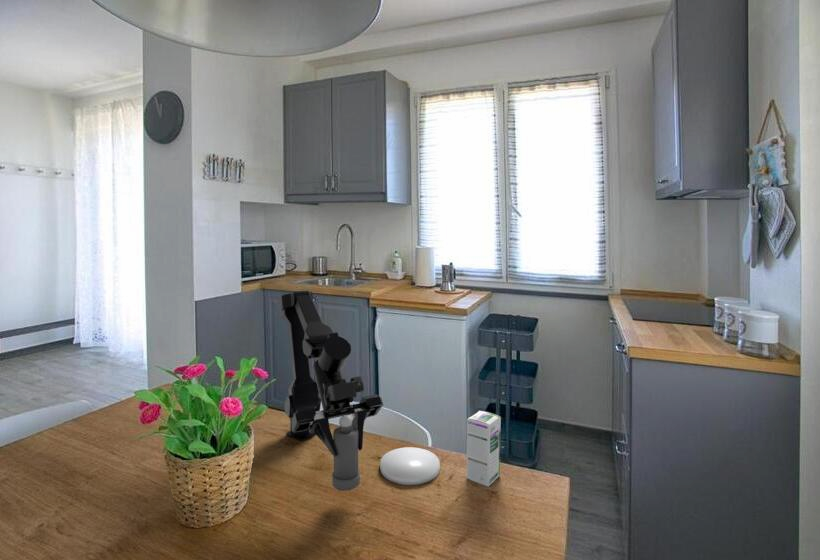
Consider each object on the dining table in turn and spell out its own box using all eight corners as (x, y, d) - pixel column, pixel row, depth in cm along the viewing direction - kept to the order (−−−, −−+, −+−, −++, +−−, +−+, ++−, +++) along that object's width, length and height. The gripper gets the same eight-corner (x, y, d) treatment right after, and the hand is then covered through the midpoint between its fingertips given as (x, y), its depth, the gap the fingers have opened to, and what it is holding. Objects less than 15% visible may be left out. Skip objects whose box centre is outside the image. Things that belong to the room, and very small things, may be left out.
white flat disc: (368, 472, 101) (368, 466, 101) (402, 447, 113) (402, 442, 112) (419, 492, 93) (419, 485, 93) (449, 463, 105) (450, 457, 105)
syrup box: (488, 487, 95) (490, 424, 94) (465, 478, 99) (466, 417, 97) (500, 476, 100) (502, 415, 98) (477, 467, 103) (478, 409, 102)
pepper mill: (326, 485, 88) (325, 418, 86) (343, 472, 93) (342, 408, 91) (349, 493, 85) (348, 424, 84) (365, 479, 90) (365, 413, 89)
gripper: (293, 371, 85) (310, 449, 77) (379, 358, 94) (403, 427, 86) (285, 396, 93) (299, 469, 85) (365, 382, 102) (385, 447, 94)
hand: (348, 452), depth 87 cm, fingers closed on pepper mill, 5 cm apart
